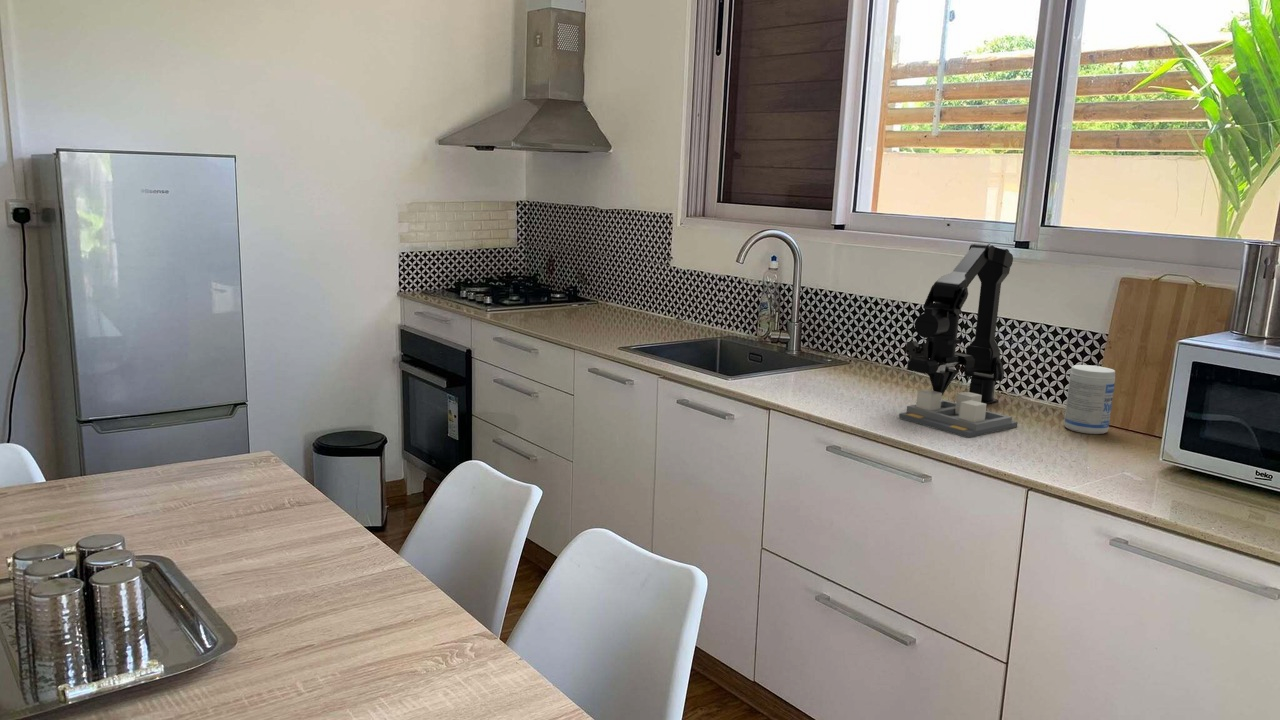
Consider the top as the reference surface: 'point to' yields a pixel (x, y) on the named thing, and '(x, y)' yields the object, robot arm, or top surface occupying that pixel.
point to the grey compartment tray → (957, 420)
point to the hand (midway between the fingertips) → (937, 398)
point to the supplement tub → (1089, 399)
